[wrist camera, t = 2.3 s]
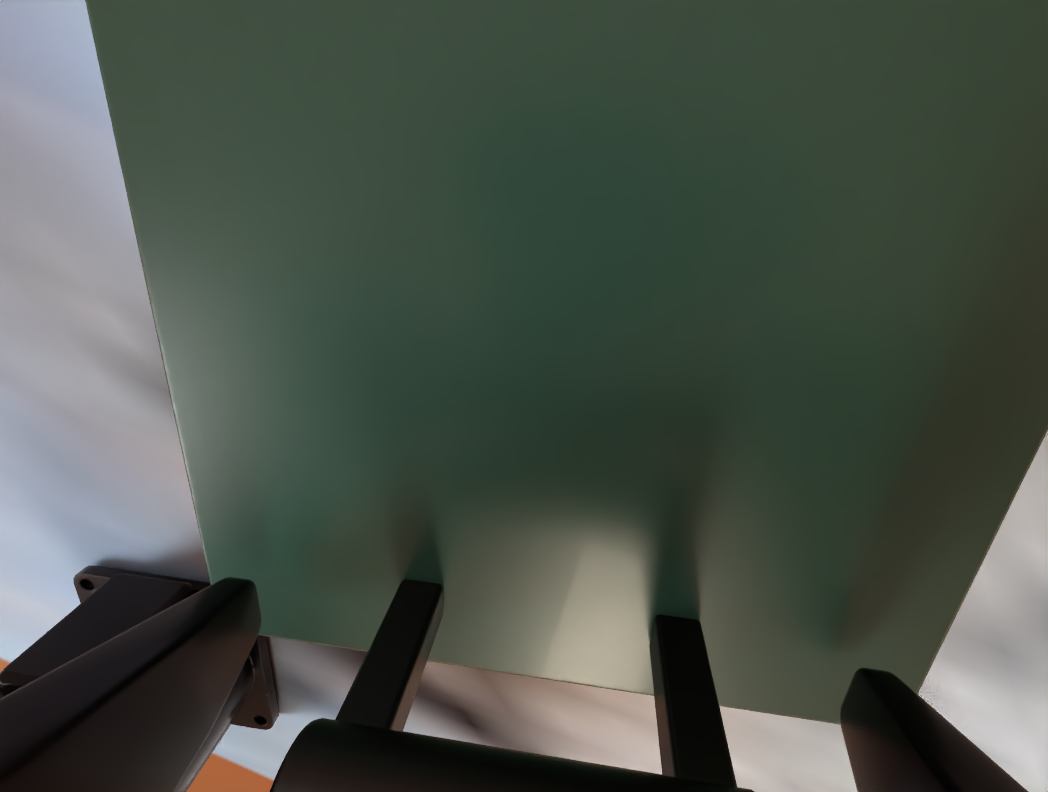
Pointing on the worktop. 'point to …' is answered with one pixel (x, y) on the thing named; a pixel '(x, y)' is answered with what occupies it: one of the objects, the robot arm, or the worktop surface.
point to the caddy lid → (592, 342)
